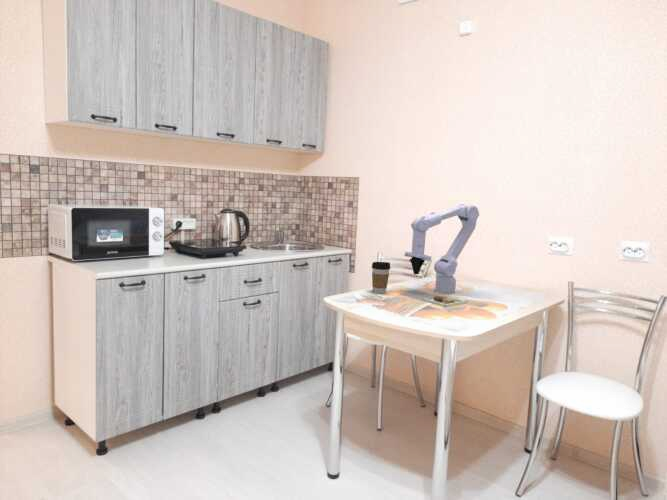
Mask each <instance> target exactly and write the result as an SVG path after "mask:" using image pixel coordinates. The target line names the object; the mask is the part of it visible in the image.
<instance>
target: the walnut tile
mask: <svg viewBox="0 0 667 500" xmlns="http://www.w3.org/2000/svg"><path fill="white" fill-rule="evenodd" d="M444 298H446V297H443V295H442V296H441V295H436V296H435V297H434V299H433V301H436V302H439V303H442V300H443V299H444Z"/></svg>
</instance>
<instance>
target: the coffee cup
mask: <svg viewBox="0 0 667 500" xmlns="http://www.w3.org/2000/svg"><path fill="white" fill-rule="evenodd" d="M371 269H372V270H371V271H372V272H371V277H372V281H371V284H372V285H371V287H372V293H374V294H378V295H380V294H381V295H382V294H383V295H384V294H387V293H386V292H387V289H388V288H387V287H388V282H389V277H390V273H389V272H390V270H391V263H390V262H388V261H373V262H372V264H371Z"/></svg>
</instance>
